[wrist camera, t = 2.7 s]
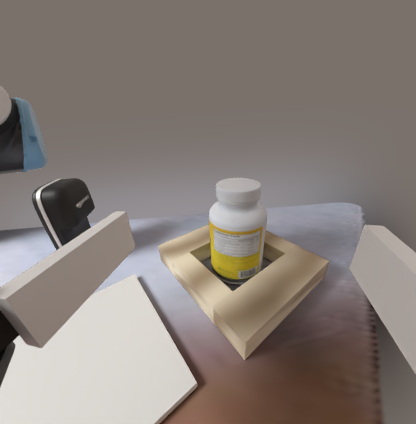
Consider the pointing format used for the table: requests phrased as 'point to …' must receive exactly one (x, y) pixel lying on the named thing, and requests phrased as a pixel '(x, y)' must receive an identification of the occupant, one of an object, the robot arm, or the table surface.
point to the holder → (245, 286)
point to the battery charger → (63, 209)
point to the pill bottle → (237, 230)
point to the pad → (99, 366)
